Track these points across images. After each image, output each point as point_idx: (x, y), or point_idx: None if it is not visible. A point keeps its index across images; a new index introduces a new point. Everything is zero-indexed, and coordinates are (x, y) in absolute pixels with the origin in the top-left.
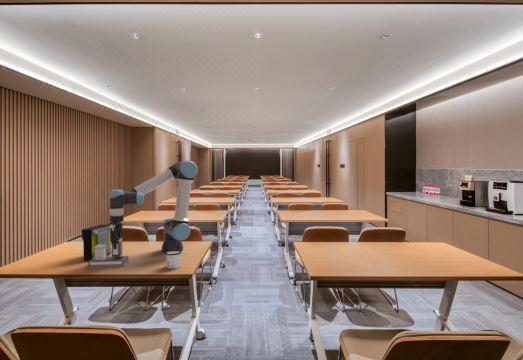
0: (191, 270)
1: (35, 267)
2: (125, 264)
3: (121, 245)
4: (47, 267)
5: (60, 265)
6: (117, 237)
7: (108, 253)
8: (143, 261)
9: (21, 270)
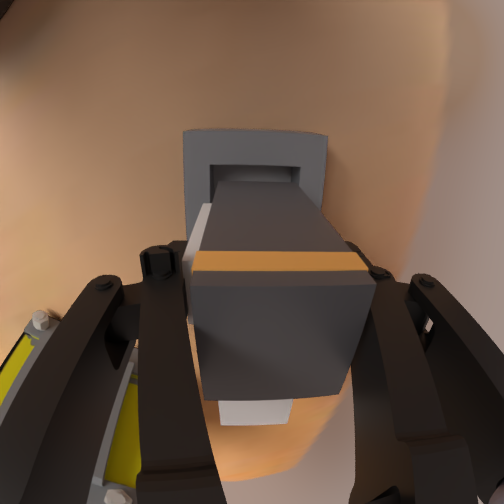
0: None
1: (248, 455)
2: (266, 129)
3: (242, 214)
4: (253, 440)
5: (233, 425)
6: (392, 335)
7: (53, 324)
8: (187, 22)
9: (273, 461)
